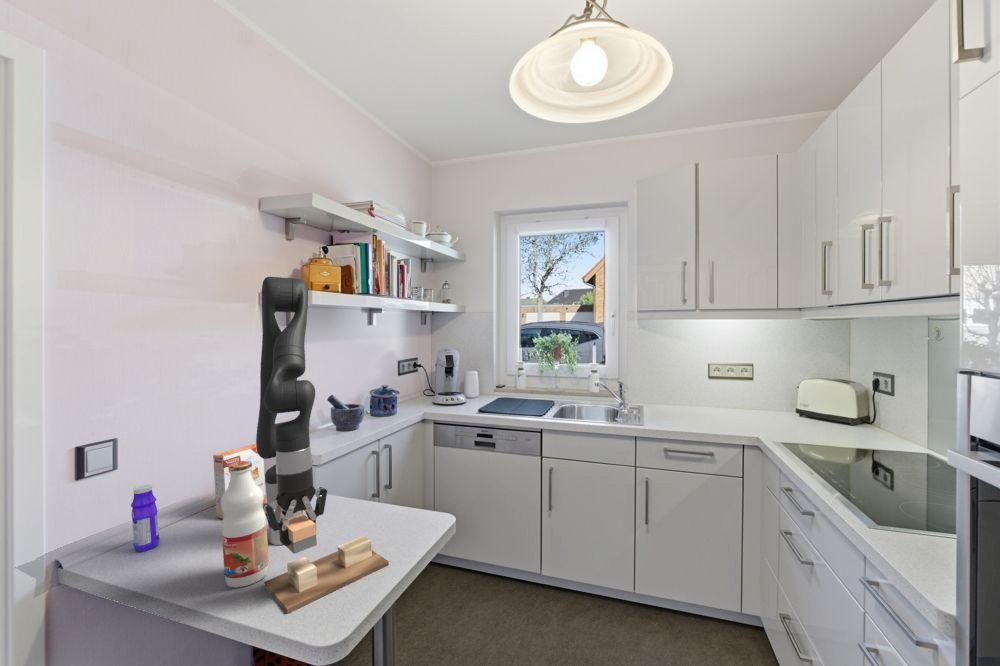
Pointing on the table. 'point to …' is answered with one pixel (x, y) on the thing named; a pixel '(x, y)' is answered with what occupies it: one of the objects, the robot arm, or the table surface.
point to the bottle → (144, 519)
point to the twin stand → (324, 574)
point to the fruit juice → (244, 528)
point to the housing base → (302, 544)
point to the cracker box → (224, 476)
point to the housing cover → (300, 528)
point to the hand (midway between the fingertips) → (298, 539)
